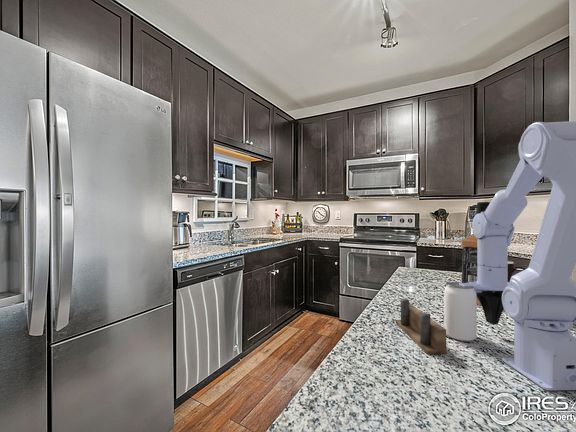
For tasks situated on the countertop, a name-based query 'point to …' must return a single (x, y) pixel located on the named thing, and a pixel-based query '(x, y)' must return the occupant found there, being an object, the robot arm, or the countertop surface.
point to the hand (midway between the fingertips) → (491, 322)
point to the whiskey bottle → (471, 253)
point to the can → (460, 312)
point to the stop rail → (422, 329)
